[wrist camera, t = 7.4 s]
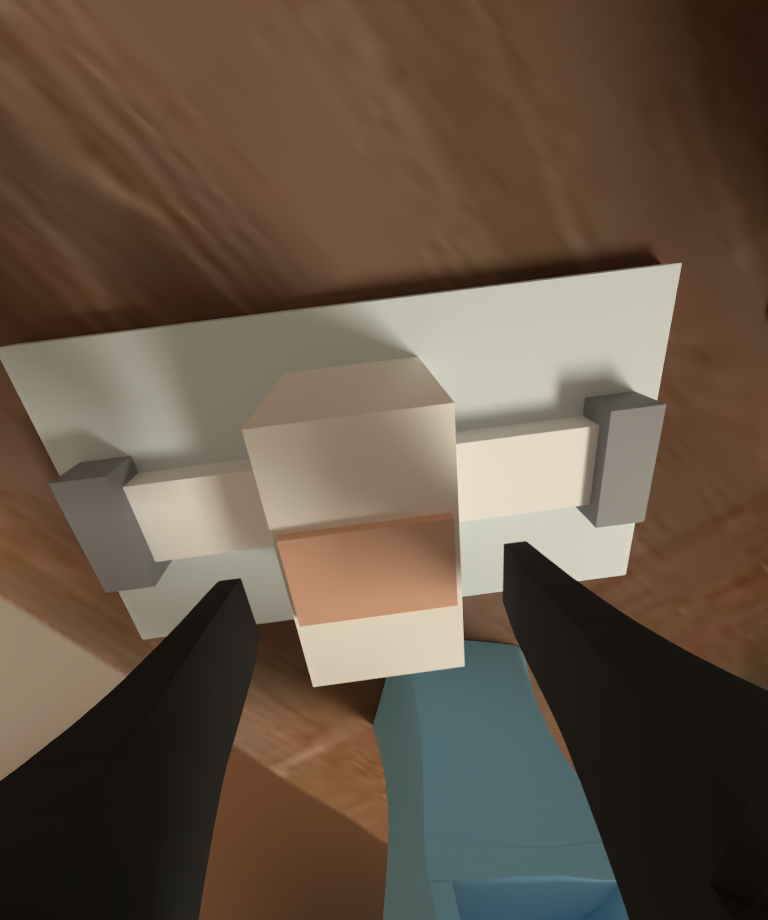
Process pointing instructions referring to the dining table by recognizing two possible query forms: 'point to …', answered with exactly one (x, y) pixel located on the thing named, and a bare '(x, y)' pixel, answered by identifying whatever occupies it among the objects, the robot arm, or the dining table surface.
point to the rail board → (346, 343)
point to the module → (364, 516)
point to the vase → (485, 801)
